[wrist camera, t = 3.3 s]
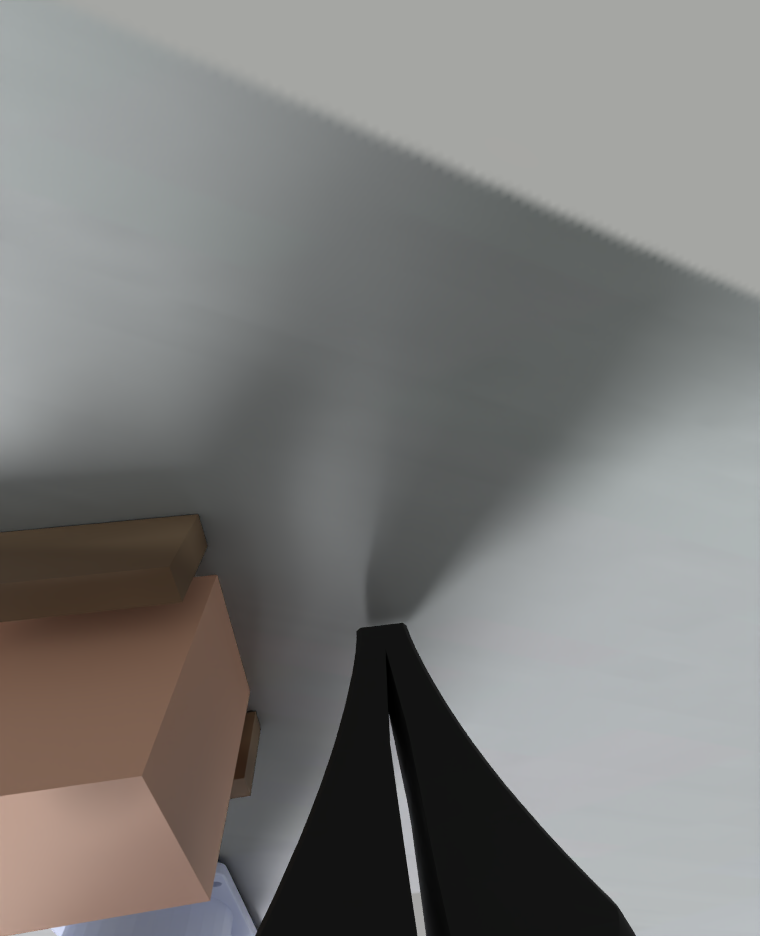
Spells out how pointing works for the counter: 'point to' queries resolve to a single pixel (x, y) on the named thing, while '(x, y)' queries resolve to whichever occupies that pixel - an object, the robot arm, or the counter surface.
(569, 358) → the counter surface
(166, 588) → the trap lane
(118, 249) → the counter surface
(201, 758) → the terracotta block
